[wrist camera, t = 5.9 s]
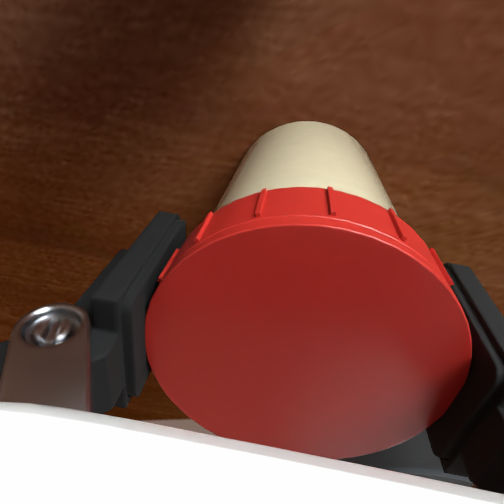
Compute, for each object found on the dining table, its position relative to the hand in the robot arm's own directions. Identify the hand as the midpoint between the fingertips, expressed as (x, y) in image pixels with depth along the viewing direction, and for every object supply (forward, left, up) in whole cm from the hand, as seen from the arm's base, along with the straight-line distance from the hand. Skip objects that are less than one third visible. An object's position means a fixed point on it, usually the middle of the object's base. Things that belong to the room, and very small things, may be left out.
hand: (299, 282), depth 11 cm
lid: (0, 0, +3) cm, 3 cm away
